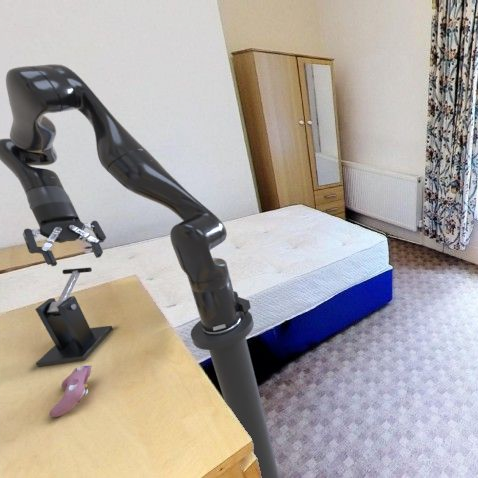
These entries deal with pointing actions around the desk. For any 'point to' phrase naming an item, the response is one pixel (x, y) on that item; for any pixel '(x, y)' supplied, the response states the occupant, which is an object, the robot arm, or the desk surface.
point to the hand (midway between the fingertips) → (77, 260)
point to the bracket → (69, 333)
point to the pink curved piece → (72, 391)
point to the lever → (67, 289)
